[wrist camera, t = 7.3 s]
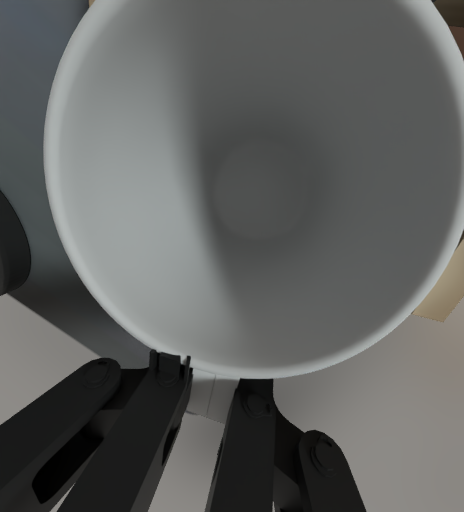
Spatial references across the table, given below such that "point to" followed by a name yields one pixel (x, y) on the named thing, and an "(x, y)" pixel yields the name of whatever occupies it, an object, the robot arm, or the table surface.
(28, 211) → the table surface
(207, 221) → the mug
